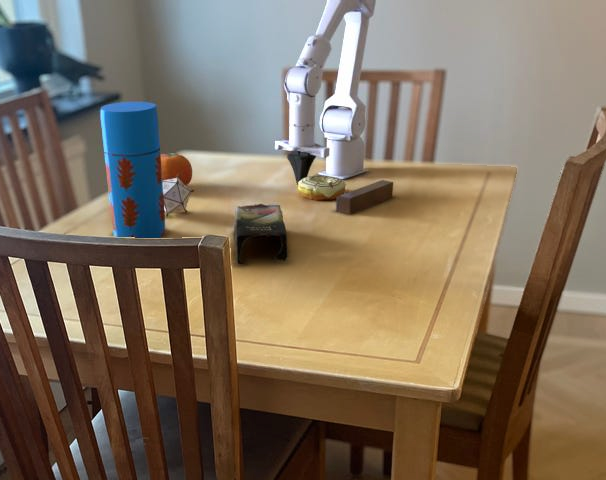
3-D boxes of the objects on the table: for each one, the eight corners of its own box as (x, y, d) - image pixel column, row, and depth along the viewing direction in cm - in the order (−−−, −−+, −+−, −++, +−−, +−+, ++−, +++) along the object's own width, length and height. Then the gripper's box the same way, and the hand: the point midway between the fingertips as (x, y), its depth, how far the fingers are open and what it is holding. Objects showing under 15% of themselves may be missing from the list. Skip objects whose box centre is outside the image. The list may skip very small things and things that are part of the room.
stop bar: (379, 194, 181) (379, 179, 179) (392, 197, 178) (393, 182, 177) (336, 211, 171) (336, 195, 169) (349, 214, 169) (350, 198, 167)
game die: (166, 231, 175) (135, 197, 170) (183, 208, 179) (154, 173, 175) (191, 218, 168) (160, 181, 164) (209, 194, 172) (178, 158, 168)
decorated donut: (335, 204, 175) (335, 187, 174) (290, 199, 180) (290, 182, 178) (351, 191, 183) (352, 175, 181) (308, 187, 188) (309, 171, 186)
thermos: (157, 244, 156) (147, 112, 144) (106, 242, 158) (91, 112, 146) (171, 227, 165) (163, 101, 153) (122, 225, 167) (110, 101, 155)
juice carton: (232, 229, 162) (232, 200, 159) (280, 228, 162) (281, 199, 159) (235, 266, 145) (234, 234, 141) (288, 265, 145) (289, 232, 142)
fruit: (176, 197, 184) (174, 162, 180) (140, 192, 189) (137, 158, 185) (201, 185, 192) (199, 152, 188) (166, 181, 197) (164, 148, 193)
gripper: (266, 123, 181) (266, 182, 187) (316, 131, 172) (314, 193, 178) (286, 118, 185) (286, 176, 192) (336, 125, 176) (334, 186, 183)
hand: (301, 184), depth 185 cm, fingers closed
